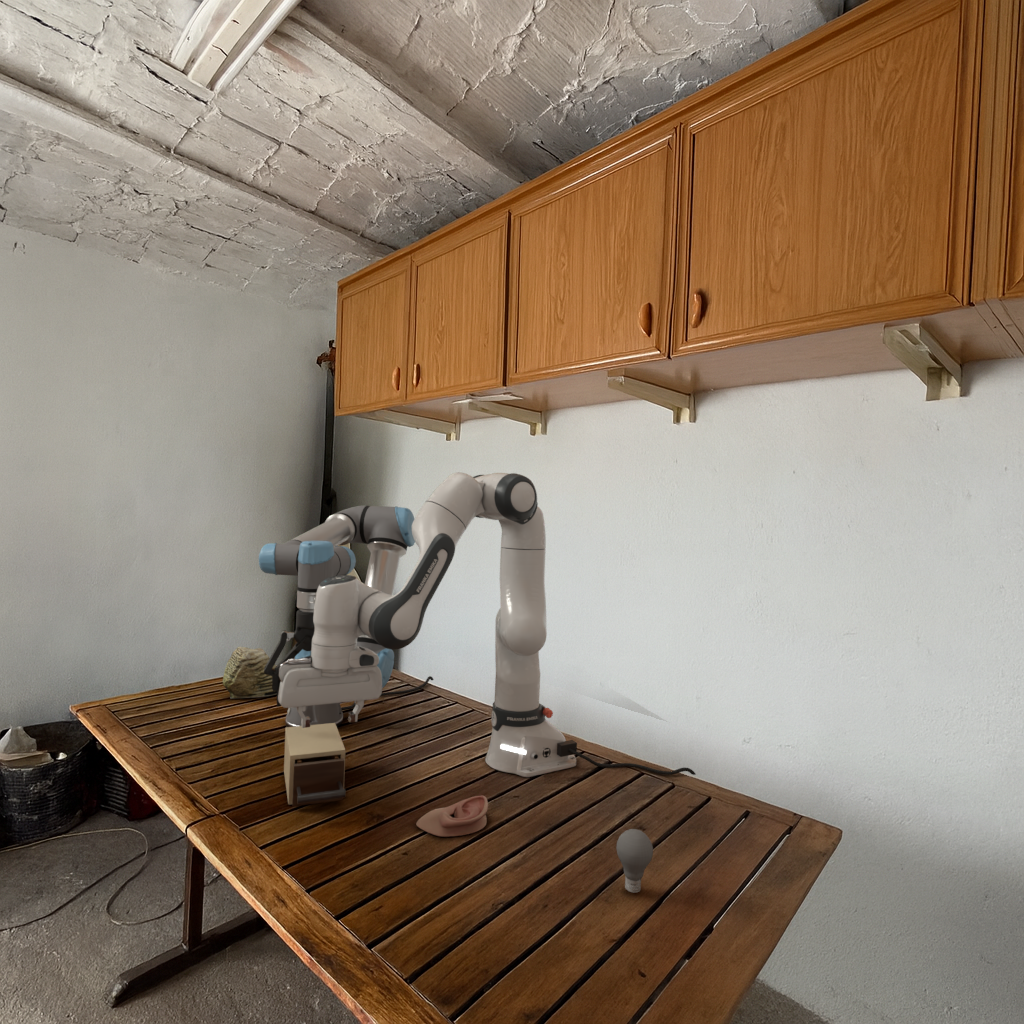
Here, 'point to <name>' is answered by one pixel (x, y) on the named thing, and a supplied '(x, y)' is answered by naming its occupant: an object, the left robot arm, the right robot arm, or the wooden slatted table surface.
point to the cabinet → (309, 748)
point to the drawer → (318, 780)
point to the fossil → (248, 674)
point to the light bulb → (634, 857)
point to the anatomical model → (456, 818)
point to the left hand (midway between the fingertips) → (310, 702)
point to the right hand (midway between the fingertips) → (329, 724)
